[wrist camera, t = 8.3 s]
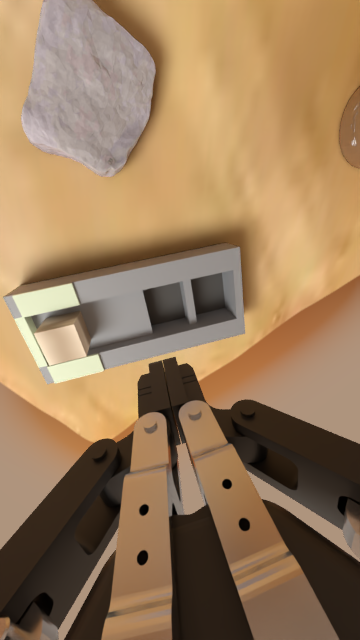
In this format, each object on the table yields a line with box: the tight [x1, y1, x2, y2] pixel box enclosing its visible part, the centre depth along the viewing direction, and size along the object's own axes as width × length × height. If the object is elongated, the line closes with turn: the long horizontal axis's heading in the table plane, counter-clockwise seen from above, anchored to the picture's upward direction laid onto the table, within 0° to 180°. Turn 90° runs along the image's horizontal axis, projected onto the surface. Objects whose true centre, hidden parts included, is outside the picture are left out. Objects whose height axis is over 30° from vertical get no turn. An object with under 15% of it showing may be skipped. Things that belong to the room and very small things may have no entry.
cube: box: [34, 311, 91, 366], centre depth 28 cm, size 4×4×4 cm
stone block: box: [21, 0, 156, 177], centre depth 23 cm, size 12×5×10 cm
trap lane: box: [3, 243, 245, 384], centre depth 31 cm, size 26×12×5 cm, turn 100°
